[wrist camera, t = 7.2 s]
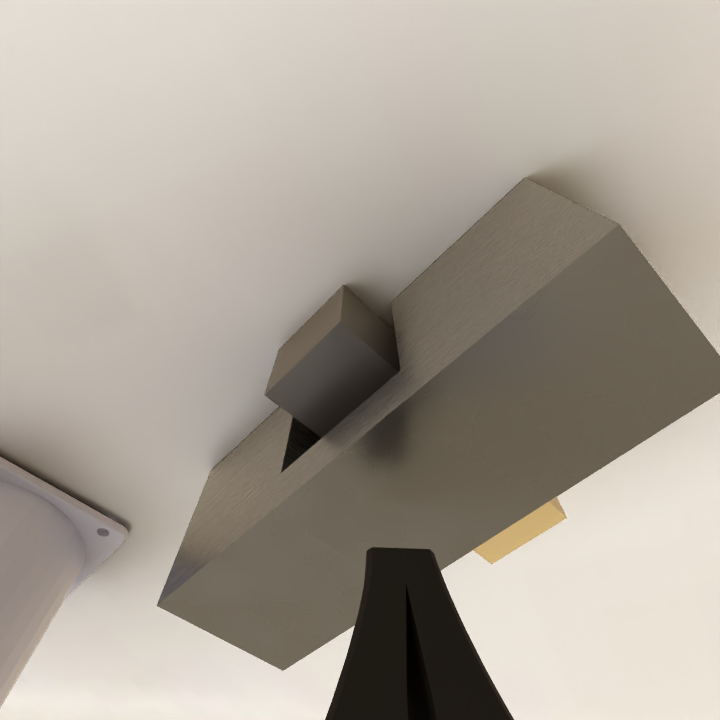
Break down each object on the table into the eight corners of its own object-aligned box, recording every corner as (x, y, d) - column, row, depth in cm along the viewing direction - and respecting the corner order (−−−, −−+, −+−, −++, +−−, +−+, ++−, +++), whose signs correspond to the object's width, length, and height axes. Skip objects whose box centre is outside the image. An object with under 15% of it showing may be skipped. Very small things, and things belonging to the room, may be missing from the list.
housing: (210, 471, 20) (156, 605, 15) (525, 177, 14) (619, 224, 9) (301, 531, 22) (283, 670, 16) (615, 287, 16) (738, 380, 11)
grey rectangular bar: (279, 349, 17) (264, 395, 15) (343, 284, 16) (340, 321, 14) (475, 505, 21) (491, 564, 18) (539, 461, 20) (566, 517, 17)
